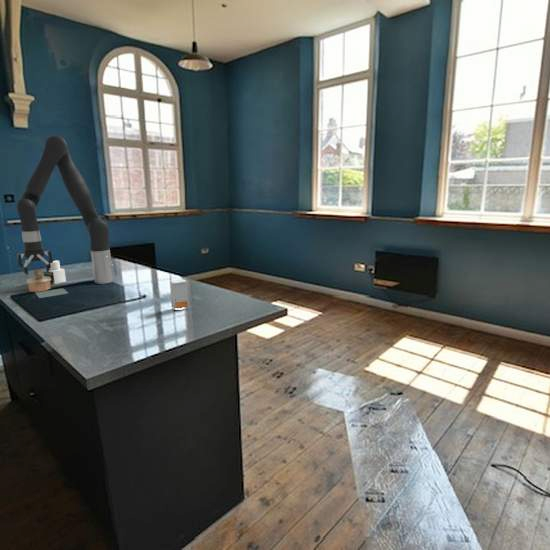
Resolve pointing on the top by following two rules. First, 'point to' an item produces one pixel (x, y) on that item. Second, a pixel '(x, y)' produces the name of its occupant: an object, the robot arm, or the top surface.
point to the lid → (38, 278)
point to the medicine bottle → (55, 273)
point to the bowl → (39, 287)
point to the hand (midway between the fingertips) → (37, 273)
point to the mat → (51, 293)
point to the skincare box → (179, 293)
